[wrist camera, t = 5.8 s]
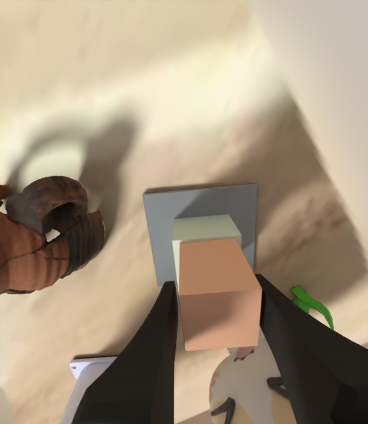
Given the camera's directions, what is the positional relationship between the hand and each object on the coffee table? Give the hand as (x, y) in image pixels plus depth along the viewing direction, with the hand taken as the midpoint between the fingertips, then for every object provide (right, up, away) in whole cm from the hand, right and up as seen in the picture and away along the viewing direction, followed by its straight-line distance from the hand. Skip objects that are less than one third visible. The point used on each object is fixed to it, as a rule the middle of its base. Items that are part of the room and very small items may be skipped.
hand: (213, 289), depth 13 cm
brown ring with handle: (-14, +5, +6) cm, 15 cm away
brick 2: (0, +1, +2) cm, 2 cm away
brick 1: (0, +2, +6) cm, 6 cm away
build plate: (0, +3, +6) cm, 7 cm away
